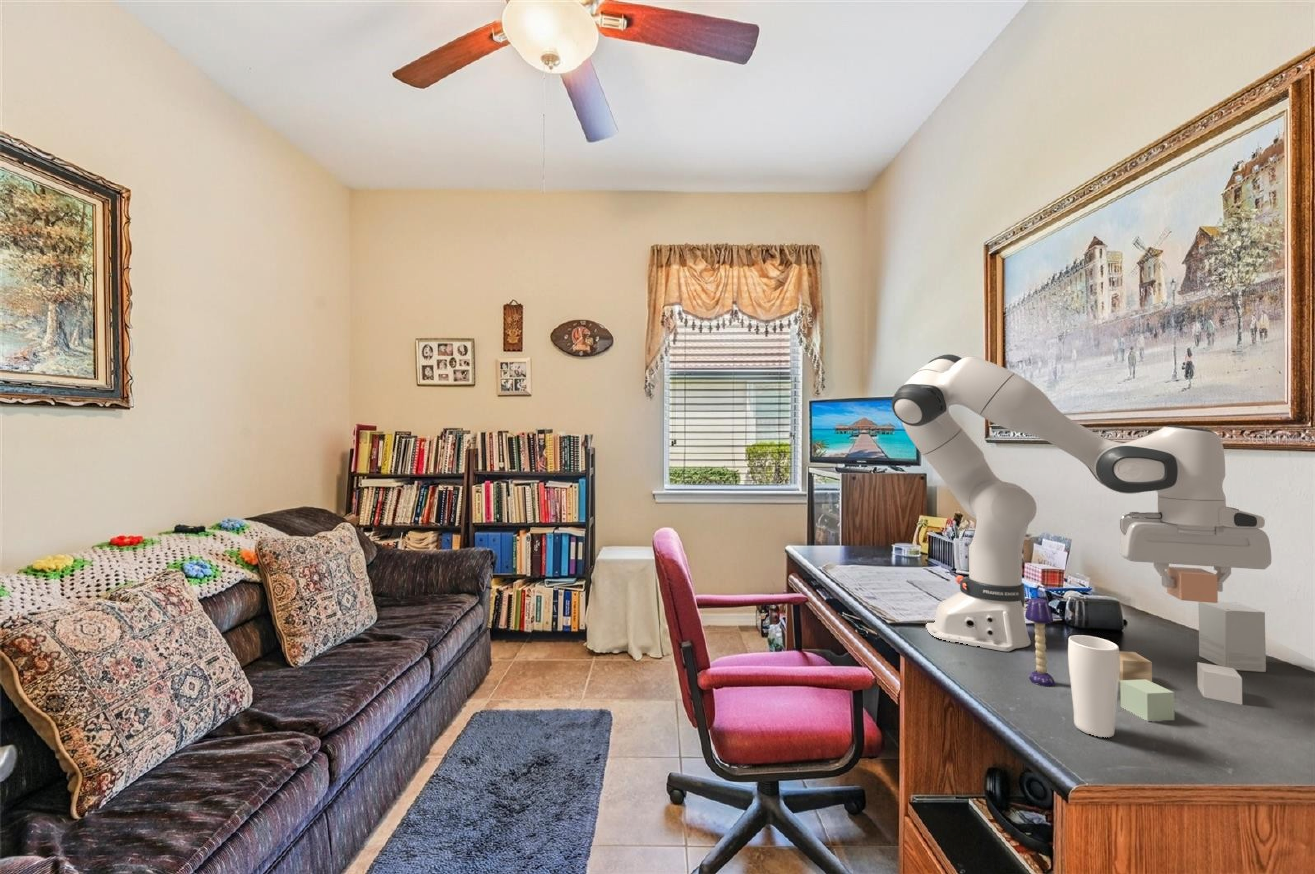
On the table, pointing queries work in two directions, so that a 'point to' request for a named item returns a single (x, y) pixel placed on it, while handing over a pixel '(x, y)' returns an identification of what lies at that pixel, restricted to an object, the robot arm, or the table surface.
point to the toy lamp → (1040, 639)
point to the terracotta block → (1194, 584)
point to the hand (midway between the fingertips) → (1191, 589)
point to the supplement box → (1232, 635)
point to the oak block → (1134, 667)
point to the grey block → (1219, 683)
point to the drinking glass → (1094, 683)
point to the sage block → (1147, 700)
